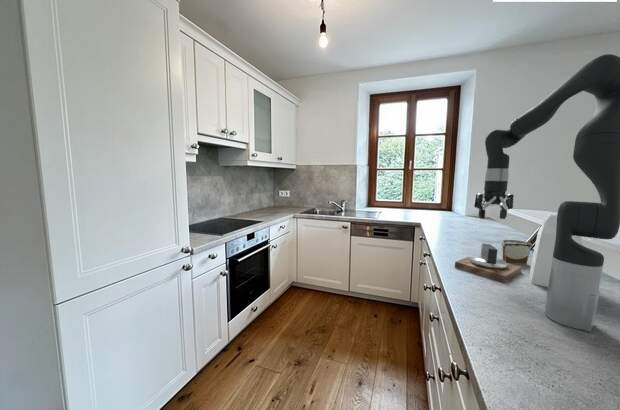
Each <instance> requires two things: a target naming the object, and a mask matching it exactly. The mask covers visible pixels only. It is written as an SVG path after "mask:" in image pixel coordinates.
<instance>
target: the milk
mask: <svg viewBox="0 0 620 410" xmlns="http://www.w3.org/2000/svg"><path fill="white" fill-rule="evenodd" d="M556 225H557V214H552V213H551V214H549V215H548V216H547V217H546V219H545V220H544V221H543V223H542V224H541V226H540V228H539V229H538V231H537V235H536V240H535V245H534V250H533V255H532V260H531V263H530V264H531V265H530V268H529V269H530V270H529V275H528V276H529V279H530V282H531V283H530V284H531V285H532V284H533V285H538V286H542V287H545V288H546V287H547V288H548V286H549V279H550V272H551V265H552V258H553V252H554V246H555V239H556ZM572 239H573V240H574V241H576V242H577V243H579V244H580V245H582V246H583V238H582V236H574V235H573V236H572Z"/></svg>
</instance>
